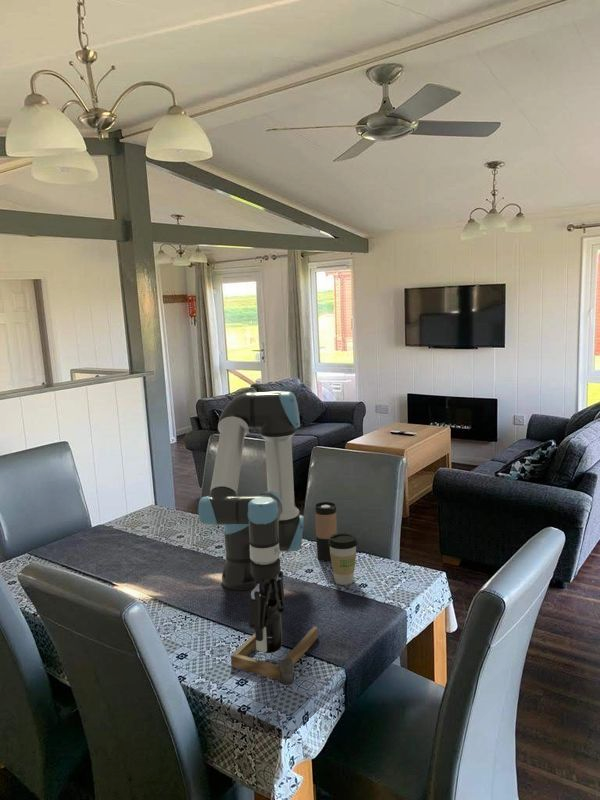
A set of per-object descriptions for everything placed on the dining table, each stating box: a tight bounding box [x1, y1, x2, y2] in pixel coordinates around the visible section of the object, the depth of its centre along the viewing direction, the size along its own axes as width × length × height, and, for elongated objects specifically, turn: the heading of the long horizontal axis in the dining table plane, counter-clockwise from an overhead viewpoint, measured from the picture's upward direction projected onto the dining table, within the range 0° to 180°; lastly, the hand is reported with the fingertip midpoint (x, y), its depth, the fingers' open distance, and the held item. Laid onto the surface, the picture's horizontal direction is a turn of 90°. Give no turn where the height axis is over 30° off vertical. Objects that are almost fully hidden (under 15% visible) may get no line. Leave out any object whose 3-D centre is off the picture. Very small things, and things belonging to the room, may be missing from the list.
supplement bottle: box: [260, 599, 283, 654], centre depth 151 cm, size 7×7×12 cm
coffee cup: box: [328, 532, 359, 586], centre depth 194 cm, size 10×10×15 cm
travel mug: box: [314, 501, 338, 563], centre depth 213 cm, size 8×8×20 cm
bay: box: [230, 626, 319, 685], centre depth 154 cm, size 17×22×5 cm
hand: (269, 643), depth 152 cm, fingers closed on supplement bottle, 7 cm apart
